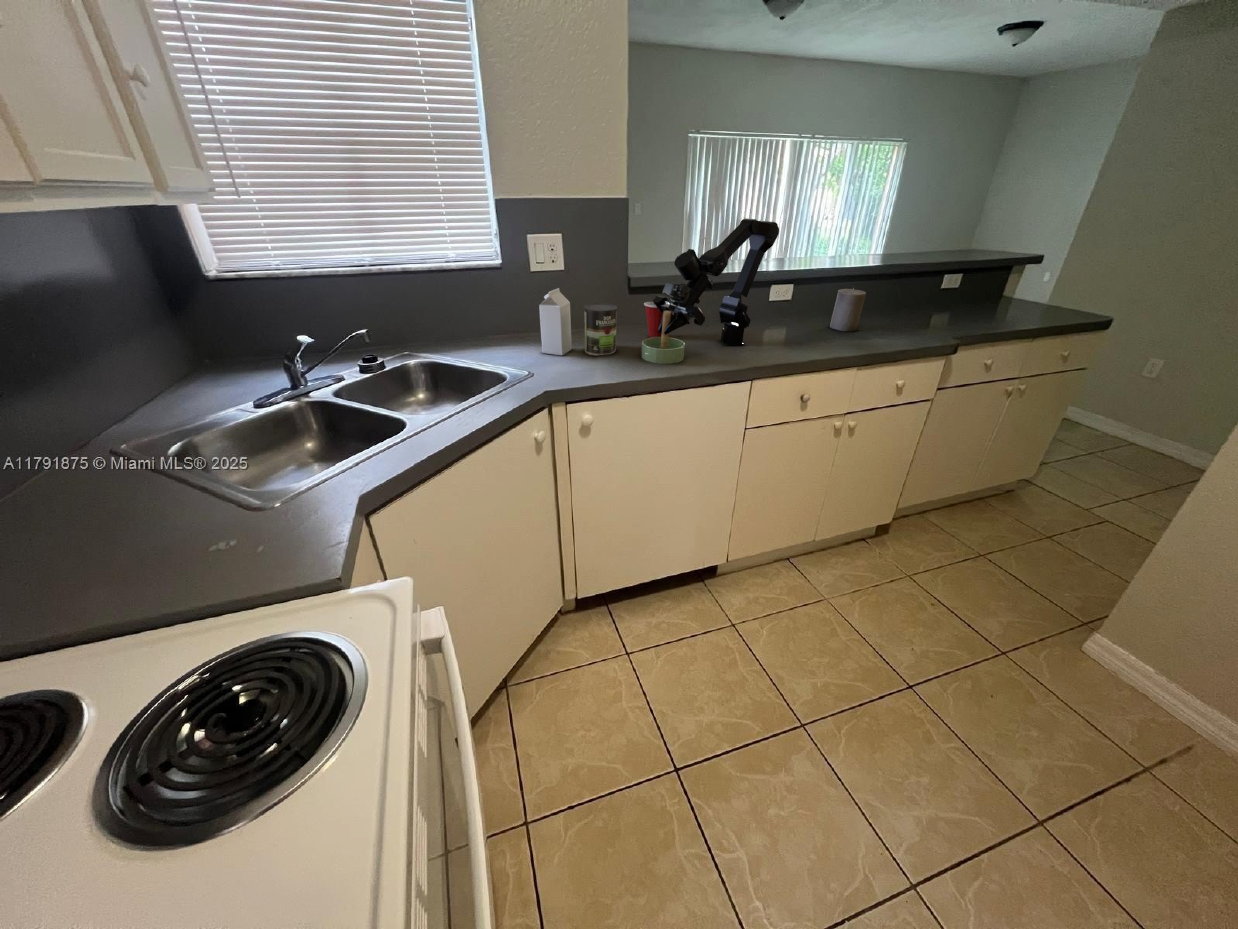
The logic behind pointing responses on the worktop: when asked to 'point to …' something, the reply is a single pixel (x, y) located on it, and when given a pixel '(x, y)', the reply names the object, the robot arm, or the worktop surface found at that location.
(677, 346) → the bowl
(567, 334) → the milk carton
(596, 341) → the coffee can
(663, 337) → the stick
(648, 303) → the plastic cup
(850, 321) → the pillar candle
